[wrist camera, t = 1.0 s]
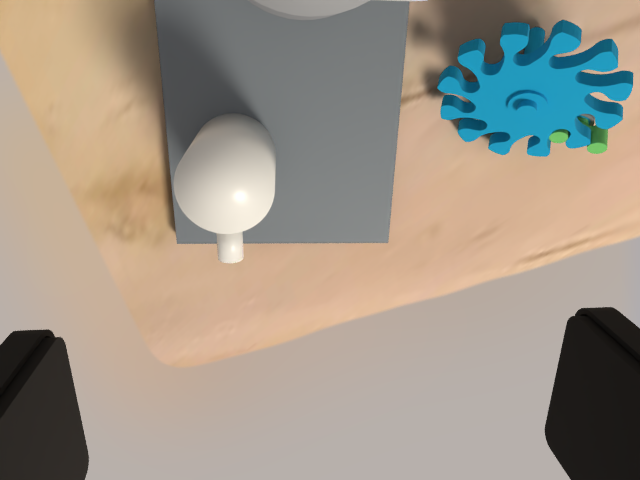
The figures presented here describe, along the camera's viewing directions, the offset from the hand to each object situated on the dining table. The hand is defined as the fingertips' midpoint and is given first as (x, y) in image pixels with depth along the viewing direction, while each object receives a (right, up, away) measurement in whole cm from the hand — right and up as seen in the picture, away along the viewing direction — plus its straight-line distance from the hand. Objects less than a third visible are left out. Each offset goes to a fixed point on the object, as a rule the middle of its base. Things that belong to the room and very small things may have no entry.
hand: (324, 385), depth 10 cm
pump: (-5, +8, +22) cm, 24 cm away
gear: (+12, +12, +23) cm, 29 cm away
